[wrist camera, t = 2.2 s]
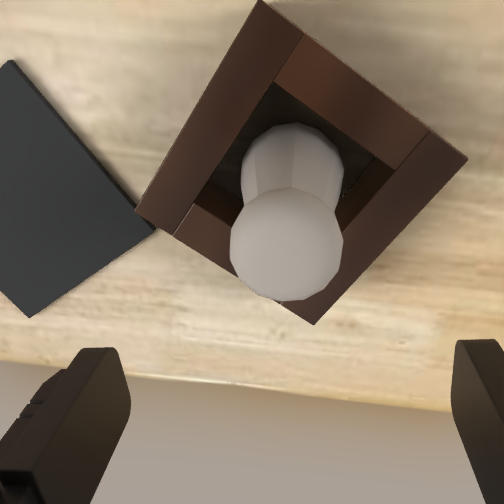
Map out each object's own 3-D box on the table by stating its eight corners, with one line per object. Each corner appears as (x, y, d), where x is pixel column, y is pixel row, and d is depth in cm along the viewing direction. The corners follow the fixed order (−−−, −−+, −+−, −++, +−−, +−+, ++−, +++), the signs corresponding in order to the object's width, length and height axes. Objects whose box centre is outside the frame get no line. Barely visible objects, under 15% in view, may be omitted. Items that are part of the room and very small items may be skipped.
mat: (-107, 180, 31) (-113, 182, 31) (12, 59, 27) (7, 60, 26) (32, 315, 35) (29, 318, 35) (156, 228, 31) (154, 231, 30)
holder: (156, 186, 30) (133, 211, 25) (266, 2, 24) (259, -3, 20) (312, 288, 32) (313, 326, 28) (444, 139, 26) (469, 159, 22)
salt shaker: (333, 213, 29) (352, 337, 17) (243, 205, 29) (203, 321, 18) (347, 118, 26) (380, 191, 15) (248, 111, 27) (205, 175, 15)
